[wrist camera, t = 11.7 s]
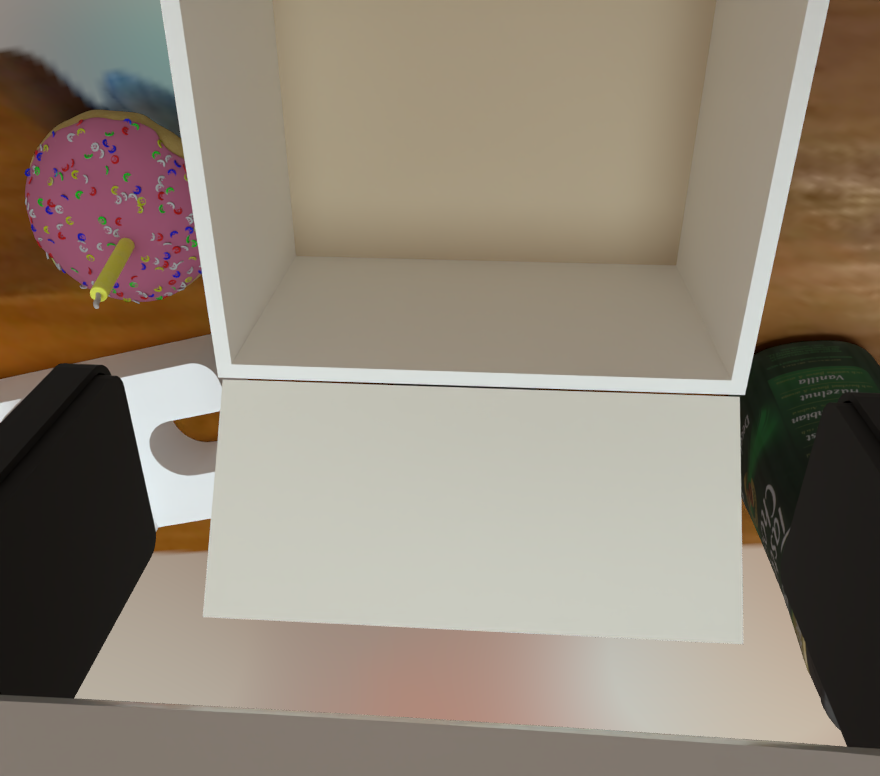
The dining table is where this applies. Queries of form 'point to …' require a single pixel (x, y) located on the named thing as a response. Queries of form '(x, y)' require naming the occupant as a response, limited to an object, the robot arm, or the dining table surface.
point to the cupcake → (115, 206)
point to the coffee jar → (792, 438)
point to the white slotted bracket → (160, 420)
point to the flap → (478, 510)
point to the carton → (490, 185)
